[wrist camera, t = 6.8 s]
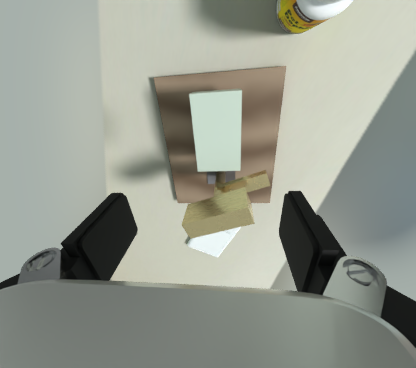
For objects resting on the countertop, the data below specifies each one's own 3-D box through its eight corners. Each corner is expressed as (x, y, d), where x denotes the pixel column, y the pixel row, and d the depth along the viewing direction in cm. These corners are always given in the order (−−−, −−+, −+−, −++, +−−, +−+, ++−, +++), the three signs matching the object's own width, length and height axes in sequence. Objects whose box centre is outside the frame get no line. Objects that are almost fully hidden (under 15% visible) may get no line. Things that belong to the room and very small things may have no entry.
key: (258, 152, 29) (277, 199, 18) (262, 165, 31) (282, 216, 20) (197, 174, 33) (181, 224, 22) (202, 184, 34) (190, 238, 23)
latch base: (155, 77, 27) (145, 78, 23) (284, 66, 25) (293, 65, 21) (178, 200, 38) (174, 212, 35) (268, 199, 36) (272, 213, 32)
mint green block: (193, 91, 24) (189, 94, 21) (240, 88, 23) (241, 90, 20) (200, 162, 29) (197, 171, 26) (239, 161, 28) (240, 170, 25)
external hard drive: (188, 240, 45) (209, 205, 39) (218, 252, 46) (243, 219, 40) (186, 246, 44) (208, 210, 37) (217, 258, 45) (243, 224, 38)
